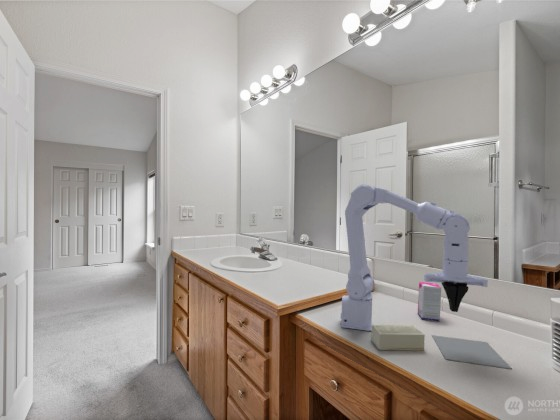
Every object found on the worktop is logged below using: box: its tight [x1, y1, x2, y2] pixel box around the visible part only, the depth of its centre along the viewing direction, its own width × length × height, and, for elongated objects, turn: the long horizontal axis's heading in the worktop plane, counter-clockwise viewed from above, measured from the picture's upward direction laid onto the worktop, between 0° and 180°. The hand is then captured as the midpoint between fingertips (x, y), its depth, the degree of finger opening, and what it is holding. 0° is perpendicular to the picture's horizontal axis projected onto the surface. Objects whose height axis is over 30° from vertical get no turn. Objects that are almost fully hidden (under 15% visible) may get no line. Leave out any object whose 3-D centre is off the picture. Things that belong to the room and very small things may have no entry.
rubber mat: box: [431, 334, 513, 370], centre depth 77 cm, size 14×14×1 cm
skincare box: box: [370, 324, 426, 351], centre depth 79 cm, size 6×4×12 cm
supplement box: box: [417, 281, 442, 322], centre depth 100 cm, size 6×6×12 cm
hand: (453, 310), depth 77 cm, fingers closed
